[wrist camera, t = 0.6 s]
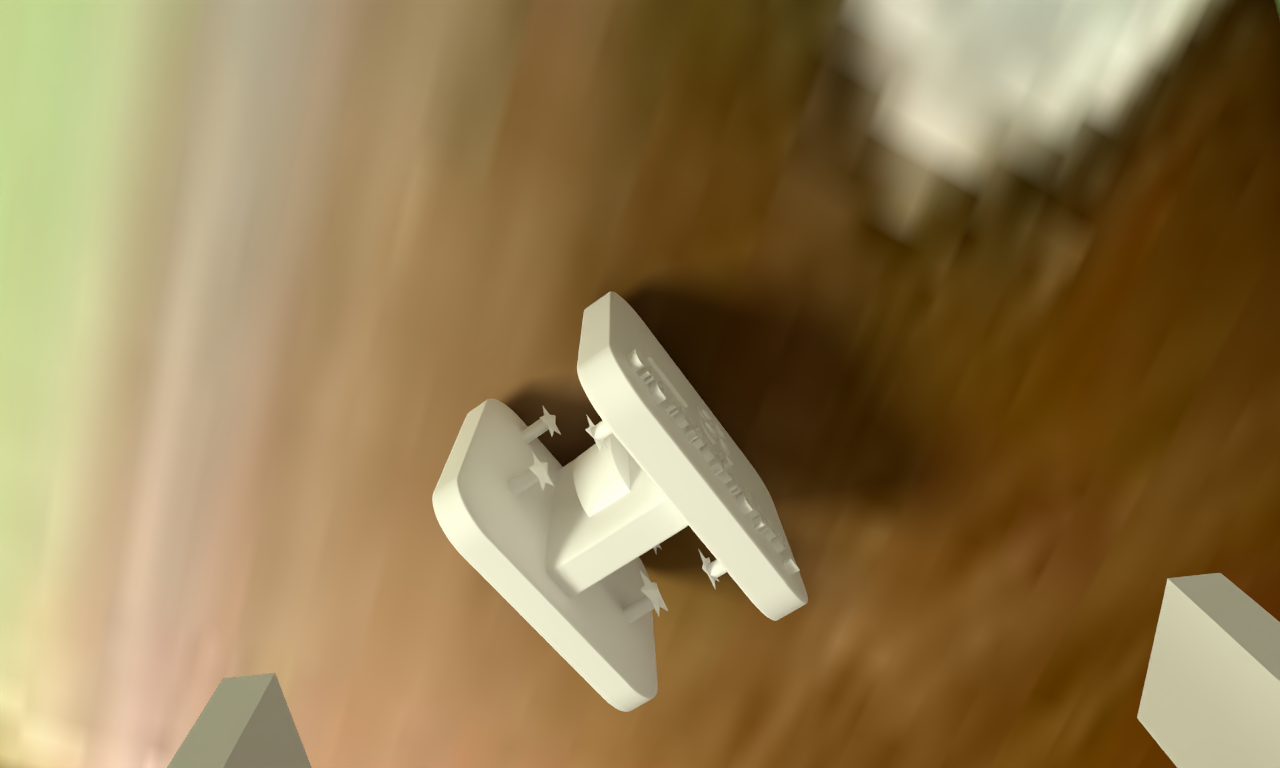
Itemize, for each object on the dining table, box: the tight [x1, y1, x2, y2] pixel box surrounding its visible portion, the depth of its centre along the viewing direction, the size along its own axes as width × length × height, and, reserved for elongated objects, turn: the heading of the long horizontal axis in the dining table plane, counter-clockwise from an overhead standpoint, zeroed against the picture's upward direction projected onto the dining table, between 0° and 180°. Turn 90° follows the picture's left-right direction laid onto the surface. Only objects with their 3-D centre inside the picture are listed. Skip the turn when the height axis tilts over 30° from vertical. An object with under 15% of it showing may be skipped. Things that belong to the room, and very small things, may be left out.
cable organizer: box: [433, 291, 808, 712], centre depth 36 cm, size 15×11×12 cm
